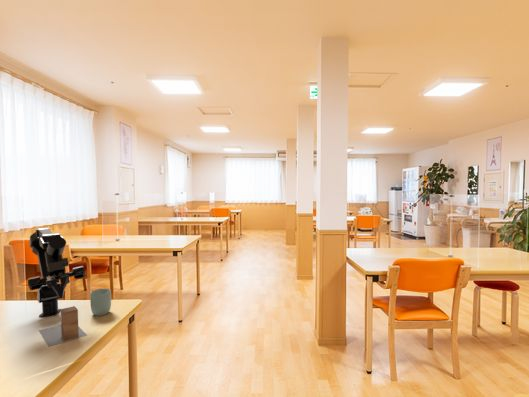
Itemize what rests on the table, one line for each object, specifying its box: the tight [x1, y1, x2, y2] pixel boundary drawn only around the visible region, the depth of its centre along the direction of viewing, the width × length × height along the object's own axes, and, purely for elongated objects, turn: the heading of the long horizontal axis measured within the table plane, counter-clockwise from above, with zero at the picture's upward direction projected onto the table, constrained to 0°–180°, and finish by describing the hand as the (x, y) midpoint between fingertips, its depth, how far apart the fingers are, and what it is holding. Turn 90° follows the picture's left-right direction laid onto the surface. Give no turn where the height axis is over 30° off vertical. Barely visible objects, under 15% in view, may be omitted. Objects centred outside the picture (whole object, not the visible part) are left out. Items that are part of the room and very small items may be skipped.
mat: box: [38, 324, 88, 348], centre depth 123 cm, size 18×12×1 cm, turn 44°
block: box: [59, 305, 79, 340], centre depth 120 cm, size 5×4×10 cm
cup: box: [89, 288, 112, 317], centre depth 142 cm, size 8×8×10 cm
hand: (61, 298), depth 126 cm, fingers closed
